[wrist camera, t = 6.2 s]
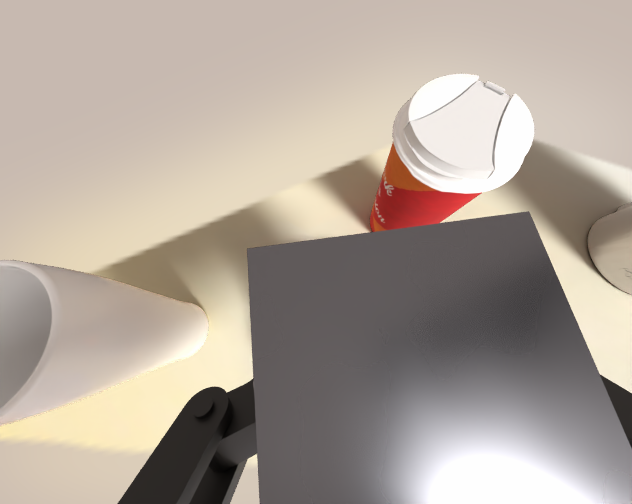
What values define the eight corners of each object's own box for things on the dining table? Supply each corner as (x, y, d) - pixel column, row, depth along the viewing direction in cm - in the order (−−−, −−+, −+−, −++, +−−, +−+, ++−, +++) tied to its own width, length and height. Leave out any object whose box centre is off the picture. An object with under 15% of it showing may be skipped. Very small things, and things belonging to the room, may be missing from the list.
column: (307, 308, 20) (246, 248, 4) (362, 301, 20) (529, 211, 4) (314, 369, 18) (267, 668, 2) (373, 361, 18) (695, 598, 3)
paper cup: (385, 180, 28) (444, 48, 14) (443, 217, 26) (568, 108, 13) (345, 228, 26) (370, 130, 13) (404, 271, 25) (502, 209, 11)
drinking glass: (150, 303, 24) (-97, 275, 10) (215, 289, 25) (67, 242, 10) (150, 374, 22) (-154, 467, 8) (221, 358, 23) (49, 420, 8)
